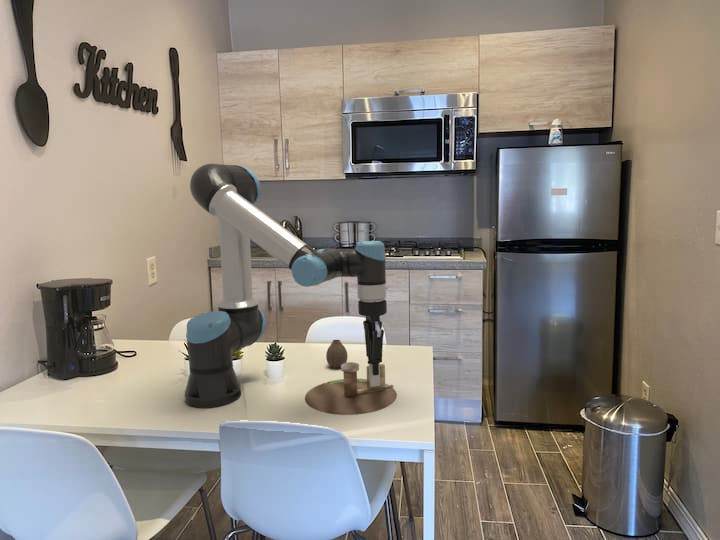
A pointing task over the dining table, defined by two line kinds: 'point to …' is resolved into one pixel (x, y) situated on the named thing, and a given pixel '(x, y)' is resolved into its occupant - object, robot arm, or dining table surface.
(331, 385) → the brown wooden flat disc
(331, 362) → the vase
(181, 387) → the dining table surface
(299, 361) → the dining table surface
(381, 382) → the peg lever
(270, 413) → the dining table surface
